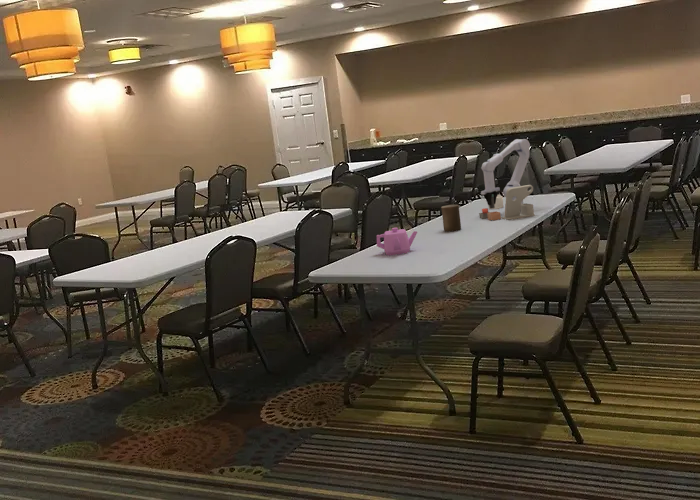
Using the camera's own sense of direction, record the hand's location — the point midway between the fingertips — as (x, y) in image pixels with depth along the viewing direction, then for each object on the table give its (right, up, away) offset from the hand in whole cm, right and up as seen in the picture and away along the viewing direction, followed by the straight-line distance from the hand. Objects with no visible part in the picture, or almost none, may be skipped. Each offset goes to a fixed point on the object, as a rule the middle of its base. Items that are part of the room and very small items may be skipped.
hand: (491, 204), depth 434 cm
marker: (0, -2, 0) cm, 2 cm away
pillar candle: (-28, -16, -29) cm, 43 cm away
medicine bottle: (+9, -1, +29) cm, 30 cm away
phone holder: (+12, -8, -15) cm, 21 cm away
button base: (-4, -8, -3) cm, 10 cm away
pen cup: (-1, -9, -13) cm, 16 cm away
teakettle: (-60, -28, -70) cm, 97 cm away
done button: (-5, -6, -4) cm, 8 cm away
